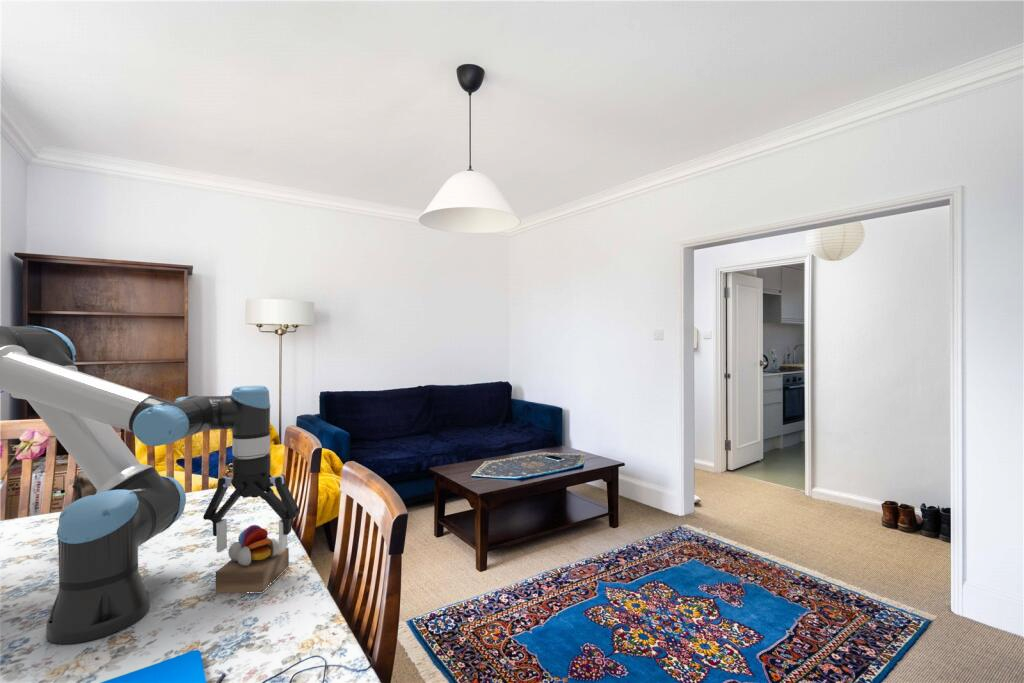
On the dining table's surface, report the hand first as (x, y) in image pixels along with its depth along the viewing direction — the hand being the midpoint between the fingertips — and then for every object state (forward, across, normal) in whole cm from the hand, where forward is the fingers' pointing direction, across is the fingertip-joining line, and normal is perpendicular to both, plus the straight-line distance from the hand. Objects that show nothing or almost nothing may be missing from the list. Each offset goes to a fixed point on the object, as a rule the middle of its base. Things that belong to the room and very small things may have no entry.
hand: (252, 549), depth 109 cm
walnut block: (+7, 0, 0) cm, 7 cm away
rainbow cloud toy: (+2, 0, 0) cm, 2 cm away
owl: (+7, +48, -19) cm, 52 cm away
